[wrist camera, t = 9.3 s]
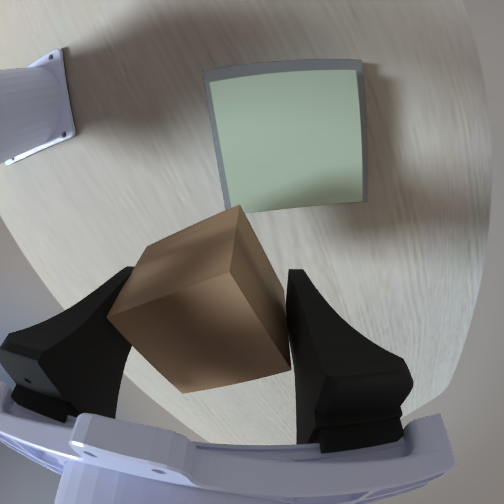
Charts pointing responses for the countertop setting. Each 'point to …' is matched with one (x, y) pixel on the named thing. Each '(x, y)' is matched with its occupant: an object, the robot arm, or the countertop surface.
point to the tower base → (278, 68)
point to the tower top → (290, 138)
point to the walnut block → (206, 306)
